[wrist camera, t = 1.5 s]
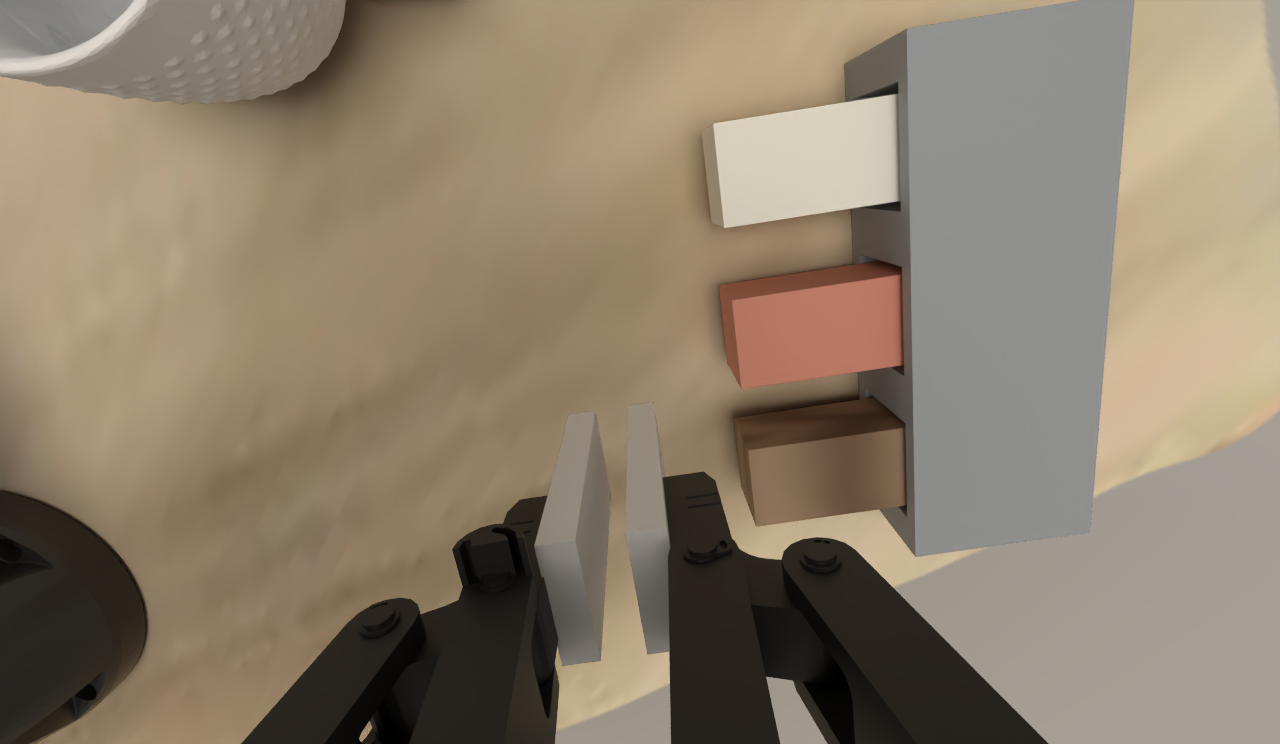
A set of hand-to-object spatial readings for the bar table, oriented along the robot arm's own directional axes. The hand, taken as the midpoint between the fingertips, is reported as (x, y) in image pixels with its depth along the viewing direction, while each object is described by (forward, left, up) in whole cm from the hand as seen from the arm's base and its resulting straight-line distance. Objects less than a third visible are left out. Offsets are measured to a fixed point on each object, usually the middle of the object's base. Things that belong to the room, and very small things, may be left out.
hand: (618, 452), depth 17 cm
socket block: (+16, 0, -14) cm, 22 cm away
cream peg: (+9, +7, -13) cm, 18 cm away
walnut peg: (+10, -7, -13) cm, 18 cm away
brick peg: (+9, 0, -13) cm, 16 cm away
